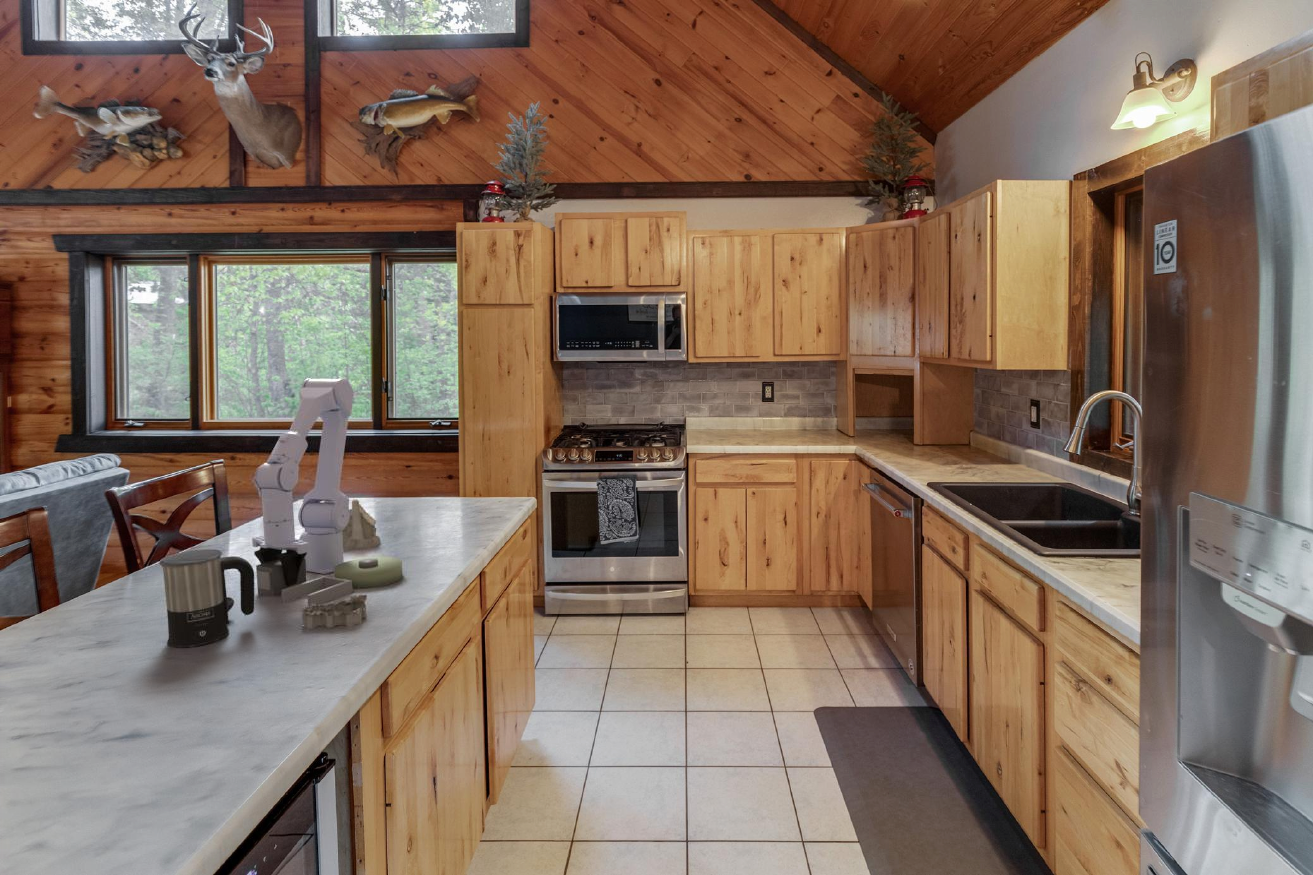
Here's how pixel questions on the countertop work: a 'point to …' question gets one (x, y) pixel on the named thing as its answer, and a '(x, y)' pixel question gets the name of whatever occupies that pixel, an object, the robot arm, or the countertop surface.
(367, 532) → the ceramic cottage
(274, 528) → the robot arm
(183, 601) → the milk frother
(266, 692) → the countertop surface
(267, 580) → the grey block with ledge
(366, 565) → the green disc with bracket
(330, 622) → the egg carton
